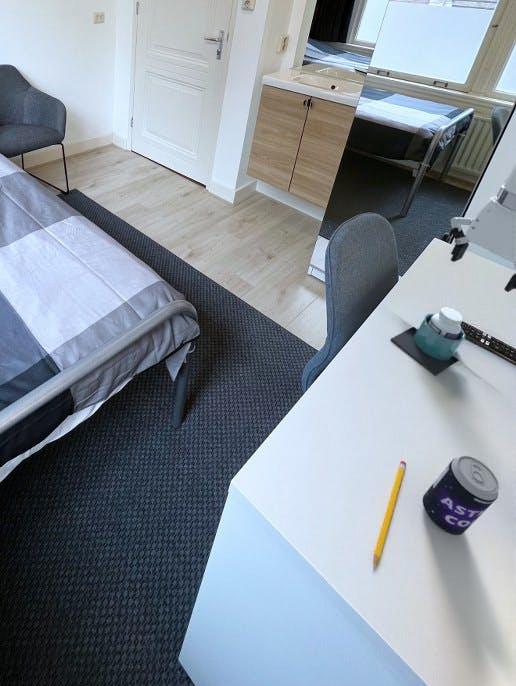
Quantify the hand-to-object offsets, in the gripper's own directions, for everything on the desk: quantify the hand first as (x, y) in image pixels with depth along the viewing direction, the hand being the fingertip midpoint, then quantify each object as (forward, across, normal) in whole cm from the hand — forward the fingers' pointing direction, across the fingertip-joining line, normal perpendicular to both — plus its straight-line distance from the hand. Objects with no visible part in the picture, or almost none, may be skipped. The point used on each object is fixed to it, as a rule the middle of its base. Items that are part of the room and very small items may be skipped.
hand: (481, 273), depth 85 cm
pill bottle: (+21, +1, +1) cm, 21 cm away
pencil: (+22, -15, +42) cm, 49 cm away
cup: (+21, +1, +1) cm, 21 cm away
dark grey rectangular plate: (+22, +1, +2) cm, 22 cm away
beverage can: (+22, -19, +35) cm, 45 cm away
